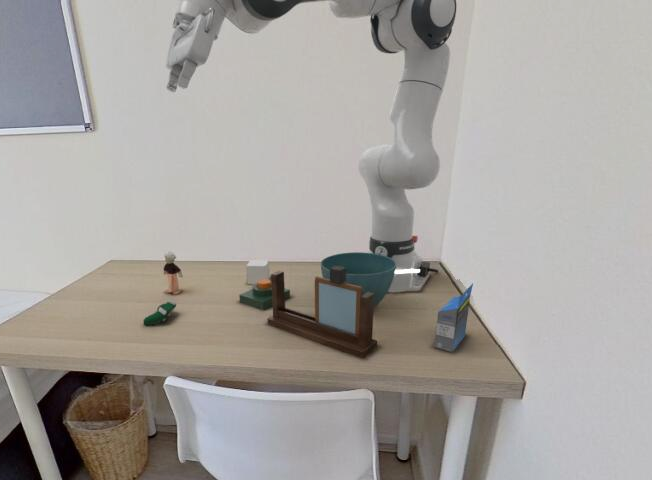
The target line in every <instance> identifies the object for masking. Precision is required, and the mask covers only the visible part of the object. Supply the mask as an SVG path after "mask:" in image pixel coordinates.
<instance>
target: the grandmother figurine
mask: <svg viewBox="0 0 652 480" xmlns="http://www.w3.org/2000/svg"><path fill="white" fill-rule="evenodd" d="M163 255H164V260H165V261H164V262H165V265H164V266H163V272H162V273H163V275H165V276H166V275H167V282H168V283H167V284H168V289H166V291H165V294H172V295H178V294H180V293H181V292H182V291H181V290H180V287H179V279H178V276H179V278H183V273H182V269H181V268H180V267H179V266H178V265H177V264H176V263H174V262H175V260H176V259H177V256H176V254H175V253H174V252H172V251H165V252H164V254H163ZM177 274H178V275H177Z"/></svg>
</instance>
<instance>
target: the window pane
mask: <svg viewBox="0 0 652 480" xmlns="http://www.w3.org/2000/svg"><path fill="white" fill-rule="evenodd" d="M345 281H346V267H341V266H334V267H332V268H330V279H326V278H323V276H315V277H314V316H315V322H318V323H322V324H325V325H328V326H331V327H334V328H337V329H340V330H343V331H346V332H350V333H353V334H356V335H359V315H360V296H362V295H363V289H362V287H361V286H357V285H352V284H348V283H344V282H345Z"/></svg>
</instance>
